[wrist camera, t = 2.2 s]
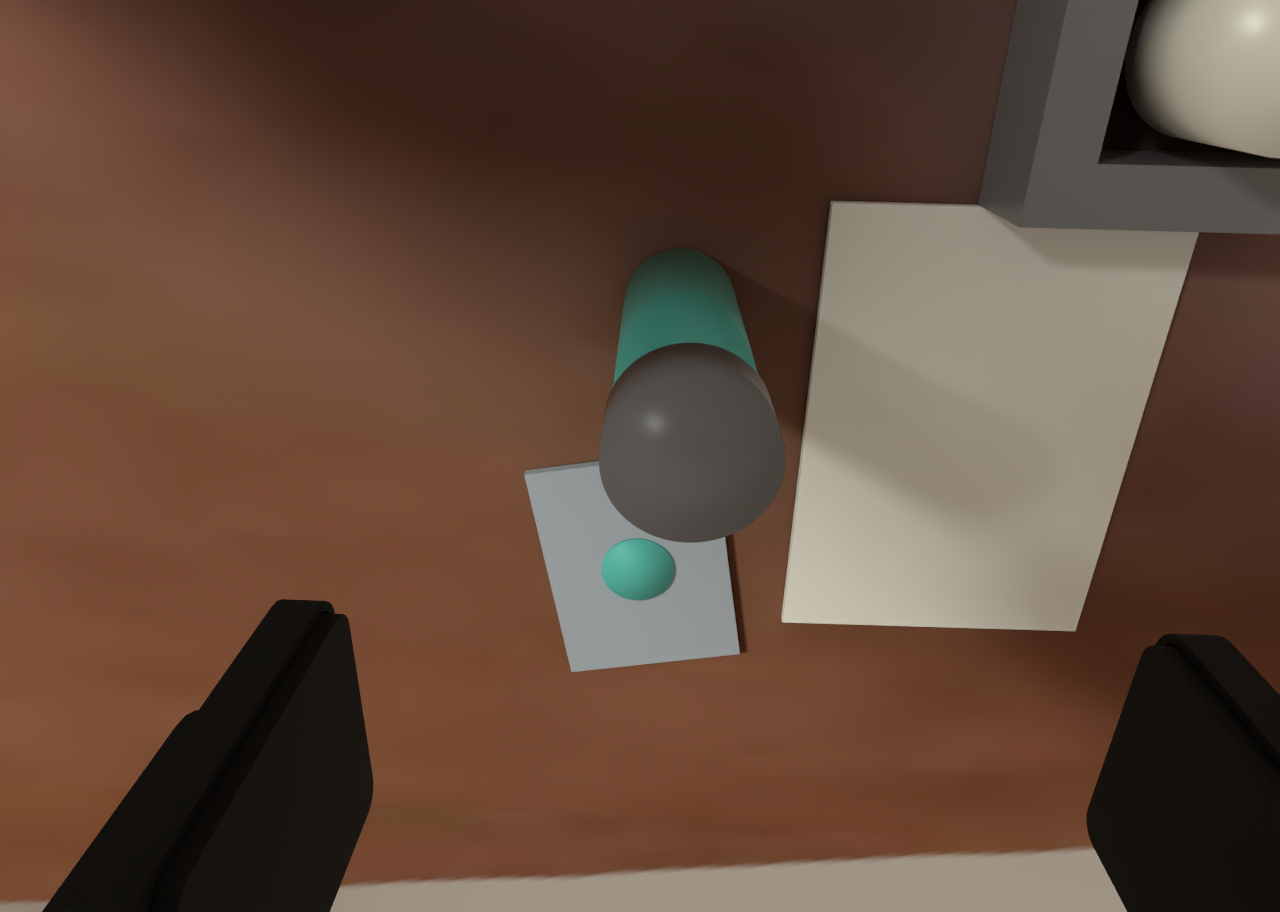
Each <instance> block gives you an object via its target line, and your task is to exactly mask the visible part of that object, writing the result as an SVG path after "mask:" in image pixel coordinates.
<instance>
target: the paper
mask: <svg viewBox="0 0 1280 912" xmlns="http://www.w3.org/2000/svg"><path fill="white" fill-rule="evenodd" d="M1198 234H1199V232H1171V231H1134V230H1097V229H1060V228H1023V227H1017V226H1016V225H1014V224H1012V223H1010V222H1008V221H1007V220H1005V219H1003V218H1001V217H999V216H997V215H996V214H994V213H992V212H990V211H988V210H987V209H985V208H983V207H981V206H979V205H973V204H936V203H899V202H861V201H831V203H830V211H829V219H828V228H827V236H826V245H825V253H824V262H823V270H822V278H821V287H820V295H819V304H818V312H817V321H816V329H815V337H814V346H813V354H812V363H811V371H810V380H809V388H808V396H807V405H806V413H805V422H804V430H803V439H802V447H801V455H800V464H799V472H798V481H797V489H796V498H795V506H794V514H793V523H792V531H791V540H790V548H789V557H788V565H787V573H786V582H785V590H784V599H783V607H782V616H781V618H782V622H787V623H820V624H853V625H886V626H918V627H951V628H984V629H1016V630H1049V631H1076V628H1077V625H1078V621H1079V618H1080V615H1081V612H1082V609H1083V605H1084V602H1085V599H1086V596H1087V592H1088V589H1089V586H1090V583H1091V580H1092V576H1093V573H1094V570H1095V567H1096V563H1097V560H1098V557H1099V554H1100V550H1101V547H1102V544H1103V541H1104V538H1105V534H1106V531H1107V528H1108V525H1109V521H1110V518H1111V515H1112V512H1113V509H1114V505H1115V502H1116V499H1117V496H1118V492H1119V489H1120V486H1121V483H1122V479H1123V476H1124V473H1125V470H1126V467H1127V463H1128V460H1129V457H1130V454H1131V450H1132V447H1133V444H1134V441H1135V438H1136V434H1137V431H1138V428H1139V425H1140V421H1141V418H1142V415H1143V412H1144V408H1145V405H1146V402H1147V399H1148V396H1149V392H1150V389H1151V386H1152V383H1153V379H1154V376H1155V373H1156V370H1157V367H1158V363H1159V360H1160V357H1161V354H1162V350H1163V347H1164V344H1165V341H1166V337H1167V334H1168V331H1169V328H1170V325H1171V321H1172V318H1173V315H1174V312H1175V308H1176V305H1177V302H1178V299H1179V296H1180V292H1181V289H1182V286H1183V283H1184V279H1185V276H1186V273H1187V270H1188V266H1189V263H1190V260H1191V257H1192V254H1193V250H1194V247H1195V244H1196V241H1197V237H1198Z"/></svg>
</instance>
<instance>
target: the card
mask: <svg viewBox="0 0 1280 912" xmlns="http://www.w3.org/2000/svg"><path fill="white" fill-rule="evenodd" d="M524 476H525V480H526V484H527V488H528V492H529V496H530V501H531V505H532V509H533V513H534V517H535V521H536V526H537V530H538V534H539V538H540V542H541V546H542V551H543V555H544V559H545V563H546V567H547V571H548V576H549V580H550V584H551V588H552V592H553V597H554V601H555V605H556V609H557V613H558V617H559V622H560V626H561V630H562V634H563V638H564V642H565V647H566V651H567V655H568V659H569V663H570V667H571V672H576V671H586V670H595V669H604V668H614V667H623V666H632V665H641V664H651V663H660V662H669V661H679V660H688V659H697V658H707V657H716V656H725V655H735V654H740V651H739V643H738V635H737V627H736V619H735V612H734V604H733V596H732V588H731V580H730V572H729V565H728V557H727V549H726V541H725V537H723V538H720V539H716V540H712V541H706V542H696V543H685V542H675V541H670V540H665V539H661V538H658V537H655V536H653V535H650V534H648V533H646V532H644V531H642V530H640V529H639V528H637V527H635V526H634V525H633V524H631V523H630V522H629V521H628V520H626V519H625V518H624V517H623V516H622V515H621V514H620V513H619V512H618V511H617V509H616V508H615V507H614V505H613V504H612V503H611V501H610V499H609V498H608V496H607V494H606V492H605V489H604V487H603V484H602V481H601V476H600V472H599V461H596V462H588V463H580V464H573V465H565V466H557V467H549V468H541V469H534V470H526V471H525V474H524Z"/></svg>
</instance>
